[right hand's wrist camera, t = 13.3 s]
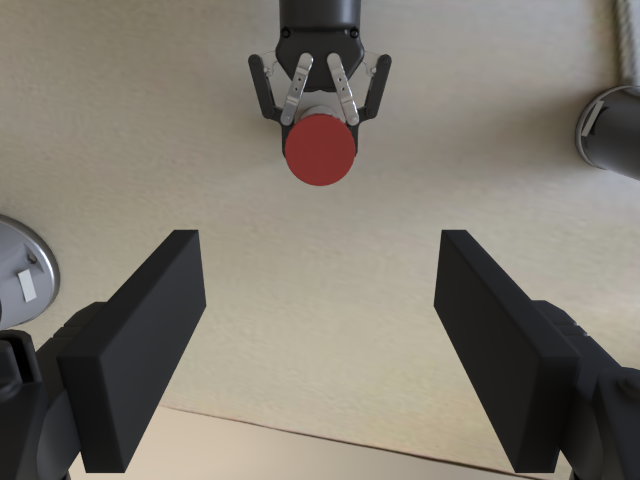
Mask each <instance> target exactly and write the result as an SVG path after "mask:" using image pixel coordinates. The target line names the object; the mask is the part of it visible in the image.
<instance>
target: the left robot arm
mask: <svg viewBox="0 0 640 480" xmlns="http://www.w3.org/2000/svg"><path fill="white" fill-rule="evenodd" d="M360 8H361V0H279V10H280V39H279V42H278V45H277V47H276V50H275V51H272V52H269V53H265V54H261V55H256V54H253V55H251V56H250V57H249V59H248V63H249V67H250V71H251V74H252V78H253V82H254V85H255V89H256V93H257V96H258V100H259V104H260V107H261V111H262V114H263V116H264V117H265V118H267V119H272V120H275V121H277V122H279V123H280V125H281V127H282V152H283V155H284V157H285V150H284V148H285V144H286V141H285V140H286V138H287V137H288V135H289V134H288V133H289V131H290V130H291V129H292V128H293V125H294V117H295V114H296V111H297V108H298V105H299V102H300V99H301V96H302V93H303V91H304V92H314V91H318V90H322V91H325V92H337V95H338V98H339V101H340V103H341V106H342V109H343V112H344V115H345V118H346V127H347V128H348V130H349V129H350V131H351V135H352V137H353V138H354V144H355V148H356V149H355V157H356V154H357V151H358V127H359V125H360V123H361V122H363V121H365V120H368V119H373V118H375V117H376V116H377V113H378V109H379V106H380V102H381V98H382V95H383V91H384V88H385V84H386V80H387V77H388V73H389V70H390V66H391V62H392V60H391V57H390V56H389V55H387V54H385V55H378V54H374V53H370V52H366V51H364V47H363V45H362V43H361V40H360ZM277 61H278V62H279V64H280V65H281V66H282V68H283V69H284V71H285V72H286V74H287V75H288V76H289V78H290V79H291V81H292V84H291V87H290V90H289V93H288V96H287V99H286V103H285V106H284V109H282V108H279V107H277V106H276V105H275V102H274V98H273V94H272V90H271V86H270V82H269V79H268V77H269V76H271V75H272V74H273V72H274V69H273V66H274V64H275V63H276V62H277ZM361 62H364V63H365V65H366V73H367V75H368V76H370V77H372V78H371V81H370V85H369V89H368V93H367V96H366V100H365V104H364V107H361V108H358V109H356V107H355V104H354V101H353V97H352V94H351V91H350V88H349V85H348V80H349V79H350V77H351V76H352V75H353V73H354V72H355V70H356V69H357V68H358V66H359V65H360V63H361ZM297 88H298V89H297ZM342 88H343V89H342ZM575 141H576V146H577V149H578V152H579V153H580V155H581V157H582V158H583V159H584V160H585V161H586V162H588V163H589V164H591V165H593V166H595V167H598V168H601V169H605V170H610V171H613V172H615V173H618V174H621V175H624V176H627V177H630V178H633V179H636V180H639V181H640V86H629V85H625V86H618V87H614V88H611V89H609V90H606V91H605V92H603V93H601V94H600V95H598V96H597V97H596V98H594V99H593V100H592V101H591V102H590V103H589V104H588V106H587V107H586V108H585V109H584V111H583V113H582V114H581V116H580V118H579V121H578V124H577V127H576V133H575Z"/></svg>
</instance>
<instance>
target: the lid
mask: <svg viewBox="0 0 640 480" xmlns="http://www.w3.org/2000/svg"><path fill="white" fill-rule="evenodd" d="M288 134H289V135H288V137H287V138H286V140H285V141H286V144H285V148H284V150H285V158H286V161H287V164H288V166H289V168H290V170H291V171H292V173H293V174H294V175H295V176H296V177H297V178H298V179H300V180H301V181H303V182H305V183H307V184H310V185H315V186H325V185H330V184H333V183H335V182H337V181H339V180H340V179H341V178H343V177H344V176H345V175H346V174H347V172H348V171H349V170H350V168H351V166H352V164H353V161H354V157H355V149H356V148H355V144H354V138H353V137H352V135H351V131H350V129H349V130H348V128H347V127H346V124H345V123H343V122H342V121H341V120H340V118H336V117H334V116H333V115H332V114H331V115H329V114H324V112H323V113H315V114H311V115H307V116H306V117H304V118H302V119H301V118H300V120H299V121H298V122H297V123H296V124H294V125H293V128H292V129H291V130H290V131H289V133H288Z"/></svg>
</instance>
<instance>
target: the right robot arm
mask: <svg viewBox="0 0 640 480" xmlns="http://www.w3.org/2000/svg"><path fill="white" fill-rule="evenodd" d="M59 286H60V273H59V268H58V264H57V262H56V259H55V257H54V255H53V253H52V251H51V250H50V248H49V247H48V245H47V244H46V243H45V242H44V241H43V239H42V238H41V237H40V236H39V235H38V234H36V233H35V232H34V231H33V230H31V229H30V228H29V227H27V226H26V225H24V224H22V223H21V222H19V221H17V220H14V219H12V218H9V217H6V216H3V215H0V480H71V478H70V474H69V471H68V469H69V468H70V466H71V465H72V463H73V461H74V460H75V458H76V457H77V455H78V454H79V452H81V456H82V460H83V464H84V467H85V471H86V473H125V471H126V469H127V467H128V465H129V463H130V461H131V459H132V457H133V455H134V453H135V451H136V448H137V447H138V444H139V442H140V440H141V438H142V436H143V434H144V432H145V430H146V428H147V426H148V424H149V422H150V420H151V418H152V416H153V414H154V412H155V410H156V408H157V406H158V404H159V402H160V400H161V397H162V395H163V393H164V391H165V389H166V387H167V385H168V383H169V381H170V379H171V377H172V375H173V373H174V371H175V369H176V367H177V365H178V363H179V361H180V359H181V357H182V355H183V353H184V350H185V348H186V346H187V344H188V342H189V340H190V338H191V336H192V334H193V332H194V330H195V328H196V326H197V324H198V322H199V320H200V318H201V316H202V314H203V312H204V310H205V308H206V298H205V289H204V279H203V270H202V261H201V251H200V242H199V232H198V230H174V231H173V232H172V233H171V234H170V235H169V236H168V237H167V238H166V239H165V240H164V241H163V242H162V243H161V244H160V246H159V247H158V248H157V249H156V250H155V251H154V252H153V253H152V254H151V255H150V256H149V257H148V258H147V259H146V261H145V262H144V263H143V264H142V265H141V266H140V267H139V268H138V269H137V270H136V271H135V272H134V273H133V274H132V276H131V277H130V278H129V279H128V280H127V281H126V282H125V283H124V284H123V285H122V286H121V287H120V288H119V289H118V290H117V292H116V293H115V294H114V295H113V296H112V297H111V298H110V299H109V300H108V301H107V302H94V303H92V304H90V305H89V306H87V307H85V308H83V309H81V310H80V311H78V312H76V313H75V314H74V315H73V316H72V317H71V318H70V319H69V320H68V321H67V322H66V323H65V324H64V327H61V328H60V329H59V330H58V331H57V332H56V333H55V334H54V335H53V338H50V339H49V340H48V341H47V342H46V343H45V344H43V345H42V346H41V347H40V348H39V349H38V350H37V351H36V352H35V349H34V346H33V342H32V338H31V335H29V334H28V333H26V332H25V331H20V330H13V329H10V330H4V329H7V328H9V327H13V326H17V325H20V324H24V323H27V322H29V321H31V320H33V319H35V318H36V317H38V316H39V315H40V314H41V313H42V312H44V311H45V310H46V309H47V308H48V307H49V306H50V305H51V304H52V303H53V301H54V300H55V298H56V296H57V294H58V291H59ZM434 308H435V310H436V312H437V314H438V316H439V318H440V320H441V322H442V324H443V326H444V328H445V330H446V332H447V334H448V336H449V338H450V340H451V342H452V344H453V346H454V348H455V350H456V353H457V355H458V357H459V359H460V361H461V363H462V365H463V367H464V369H465V371H466V373H467V375H468V377H469V379H470V381H471V383H472V385H473V387H474V389H475V391H476V393H477V395H478V397H479V400H480V402H481V404H482V406H483V408H484V410H485V412H486V414H487V416H488V418H489V420H490V422H491V424H492V426H493V428H494V430H495V432H496V434H497V436H498V438H499V440H500V442H501V444H502V447H503V449H504V451H505V453H506V455H507V457H508V459H509V461H510V463H511V465H512V467H513V469H514V471H515V473H554V471H555V467H556V464H557V460H558V456H559V452H560V450H561V451H562V453H563V454H564V456H565V457H566V459H567V461H568V462H569V464H570V465H571V467H572V471H571V474H570V478H569V480H640V370H637V369H634V368H627V367H621V366H620V365H619V364H618V363H617V362H616V361H615V360H614V359H613V358H612V357H611V356H610V355H609V354H608V353H607V352H606V351H605V350H604V349H603V348H602V347H601V346H600V345H599V344H598V343H597V342H596V341H595V340H594V339H592V338H591V337H590V336H587V333H586V332H585V331H584V330H583V329H582V328H581V327H580V326H577V323H576V322H575V321H574V320H573V319H572V318H571V317H570V316H569V315H568V314H567V313H566V312H565V311H563V310H562V309H560V308H558V307H556V306H554V305H553V304H551V303H549V302H547V301H545V300H531V299H530V298H529V297H528V296H527V295H526V294H525V293H524V292H523V290H522V289H521V288H520V287H519V286H518V285H517V284H516V283H515V282H514V281H513V280H512V279H511V278H510V277H509V276H508V274H507V273H506V272H505V271H504V270H503V269H502V268H501V267H500V266H499V265H498V264H497V263H496V262H495V261H494V259H493V258H492V257H491V256H490V255H489V254H488V253H487V252H486V251H485V250H484V249H483V248H482V247H481V246H480V244H479V243H478V242H477V241H476V240H475V239H474V238H473V237H472V236H471V235H470V234H469V233H468V232H467V231H466V230H442V232H441V242H440V251H439V261H438V270H437V279H436V289H435V298H434Z"/></svg>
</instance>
